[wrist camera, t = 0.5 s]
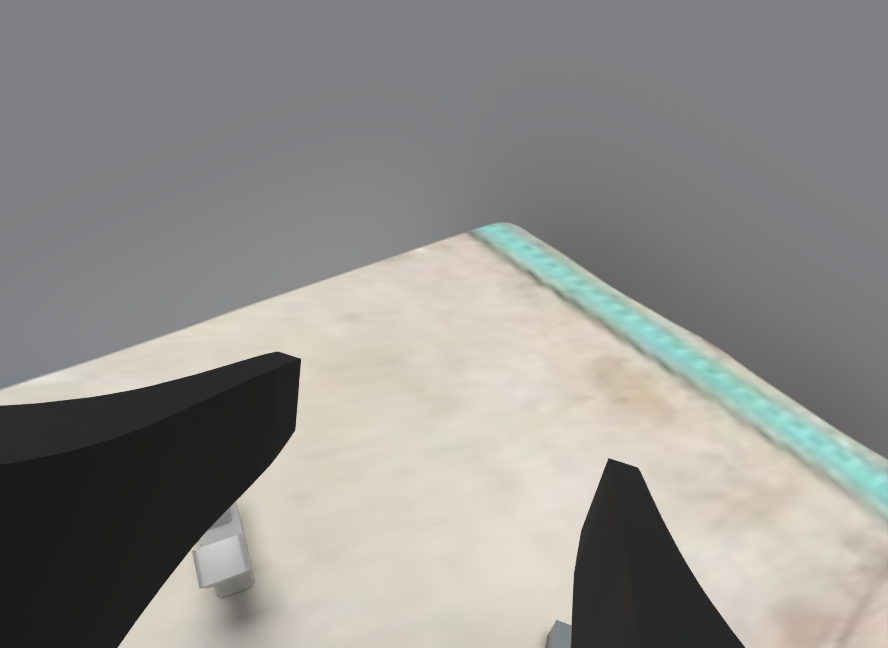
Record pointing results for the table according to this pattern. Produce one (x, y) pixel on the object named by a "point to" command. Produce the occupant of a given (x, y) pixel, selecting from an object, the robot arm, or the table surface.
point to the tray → (559, 636)
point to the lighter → (224, 556)
